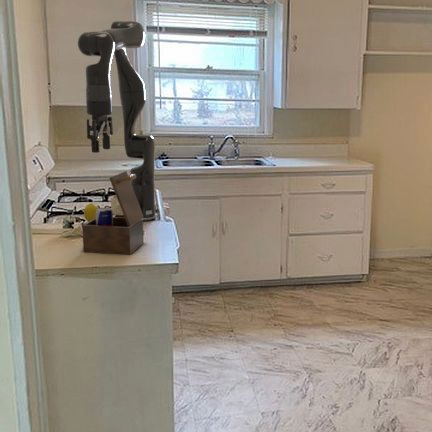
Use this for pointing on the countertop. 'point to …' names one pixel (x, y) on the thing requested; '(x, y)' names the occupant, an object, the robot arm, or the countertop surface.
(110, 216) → the energy drink
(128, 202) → the lid
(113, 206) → the character mug
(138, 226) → the compartment
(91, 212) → the lemon
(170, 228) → the countertop surface
